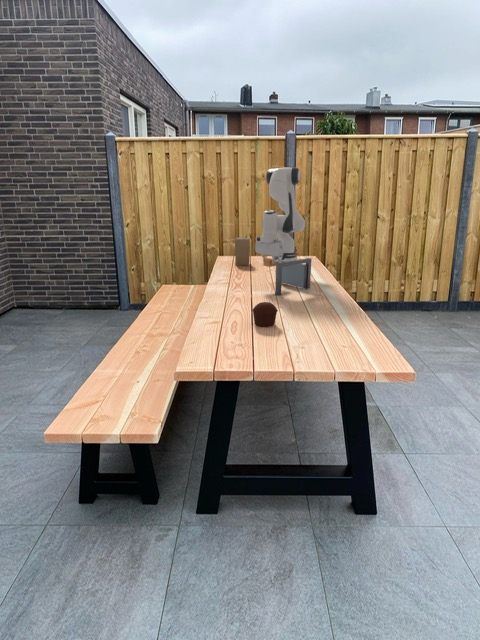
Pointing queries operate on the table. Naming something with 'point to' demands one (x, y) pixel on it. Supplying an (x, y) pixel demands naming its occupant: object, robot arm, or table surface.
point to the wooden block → (242, 251)
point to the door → (294, 275)
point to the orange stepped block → (269, 262)
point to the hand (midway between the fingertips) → (268, 262)
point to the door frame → (288, 263)
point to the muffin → (264, 314)
